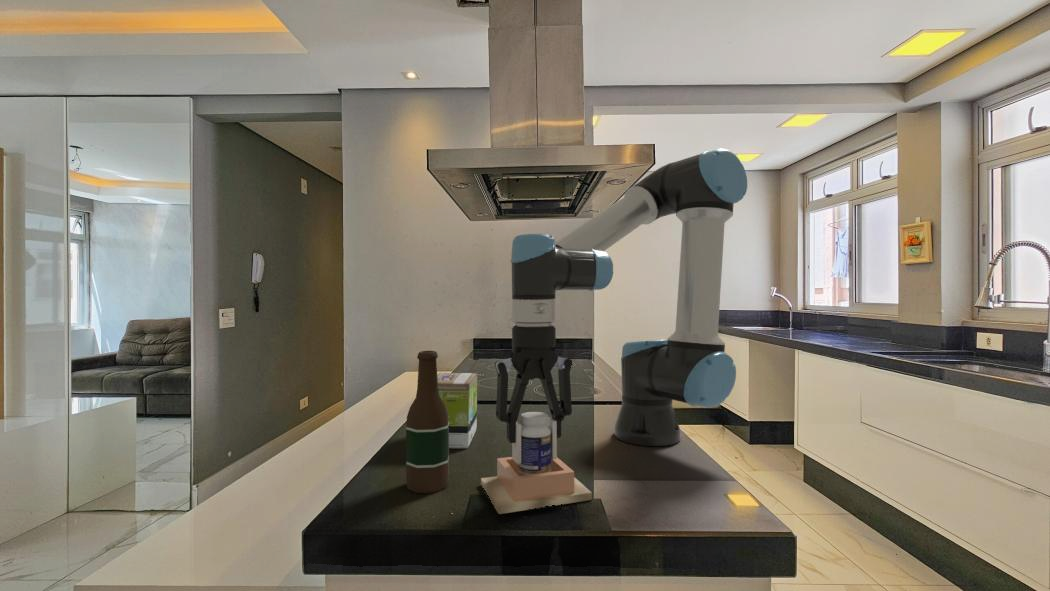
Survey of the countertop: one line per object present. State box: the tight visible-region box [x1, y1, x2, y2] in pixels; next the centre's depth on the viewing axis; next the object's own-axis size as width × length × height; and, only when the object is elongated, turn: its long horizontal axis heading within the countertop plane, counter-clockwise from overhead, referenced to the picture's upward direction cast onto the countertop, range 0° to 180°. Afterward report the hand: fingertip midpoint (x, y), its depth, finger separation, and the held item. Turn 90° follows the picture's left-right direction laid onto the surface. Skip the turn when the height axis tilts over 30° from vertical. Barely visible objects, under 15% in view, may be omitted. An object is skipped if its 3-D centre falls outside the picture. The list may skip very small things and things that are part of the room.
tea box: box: [437, 372, 478, 449], centre depth 113 cm, size 15×10×15 cm
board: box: [480, 475, 593, 515], centre depth 82 cm, size 16×12×1 cm
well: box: [496, 456, 575, 502], centre depth 82 cm, size 10×10×4 cm
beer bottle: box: [405, 350, 450, 494], centre depth 85 cm, size 8×8×24 cm
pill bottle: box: [518, 411, 551, 476], centre depth 82 cm, size 6×6×10 cm
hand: (534, 458), depth 82 cm, fingers closed on pill bottle, 6 cm apart
